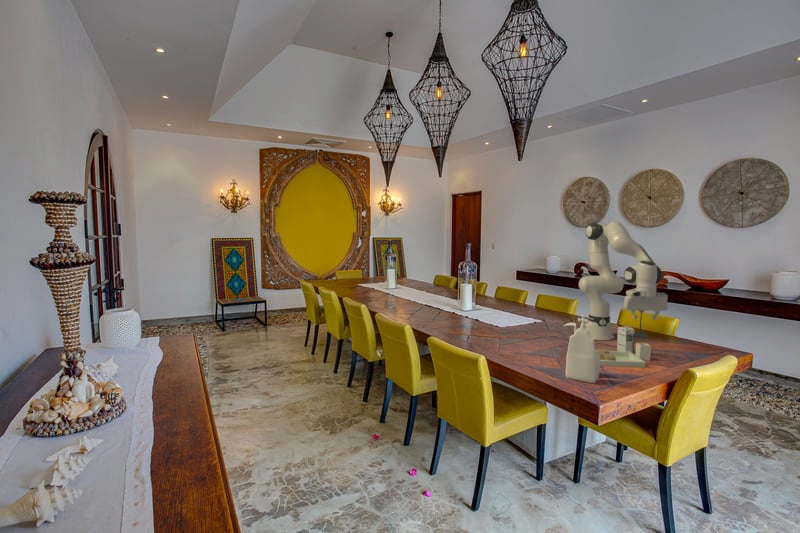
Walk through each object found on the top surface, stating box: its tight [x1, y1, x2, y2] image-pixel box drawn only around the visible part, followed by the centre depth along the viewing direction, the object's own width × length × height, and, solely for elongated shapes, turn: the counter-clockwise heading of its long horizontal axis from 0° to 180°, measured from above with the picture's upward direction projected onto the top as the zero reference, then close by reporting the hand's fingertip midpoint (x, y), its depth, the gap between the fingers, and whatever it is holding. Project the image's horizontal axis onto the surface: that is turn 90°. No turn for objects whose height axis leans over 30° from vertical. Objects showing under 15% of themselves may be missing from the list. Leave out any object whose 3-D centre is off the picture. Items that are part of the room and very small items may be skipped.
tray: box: [599, 350, 647, 368], centre depth 203 cm, size 17×22×4 cm
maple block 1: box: [597, 348, 610, 354], centre depth 208 cm, size 4×4×4 cm
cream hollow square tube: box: [634, 342, 652, 362], centre depth 208 cm, size 5×5×8 cm
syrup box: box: [616, 325, 635, 354], centre depth 217 cm, size 6×6×14 cm
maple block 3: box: [604, 354, 616, 361], centre depth 199 cm, size 4×4×4 cm
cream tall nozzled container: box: [563, 314, 601, 384], centre depth 184 cm, size 17×14×30 cm
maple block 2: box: [598, 351, 606, 360], centre depth 203 cm, size 4×4×4 cm
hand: (644, 318), depth 206 cm, fingers open, 8 cm apart
